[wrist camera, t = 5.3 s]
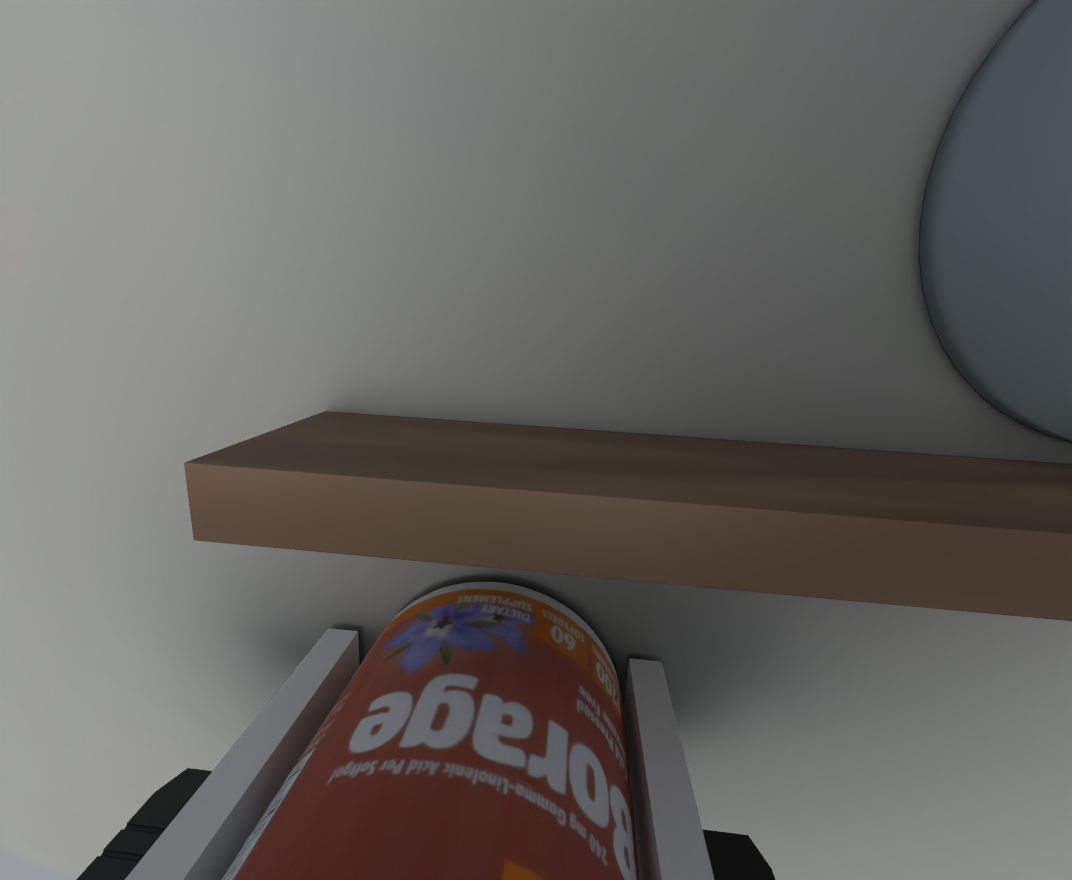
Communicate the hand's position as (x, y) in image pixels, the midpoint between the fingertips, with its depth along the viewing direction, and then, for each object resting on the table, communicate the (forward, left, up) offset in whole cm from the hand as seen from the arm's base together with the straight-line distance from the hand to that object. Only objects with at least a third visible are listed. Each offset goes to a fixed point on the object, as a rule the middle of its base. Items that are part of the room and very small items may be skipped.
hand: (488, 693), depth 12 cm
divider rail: (-6, +7, 0) cm, 9 cm away
